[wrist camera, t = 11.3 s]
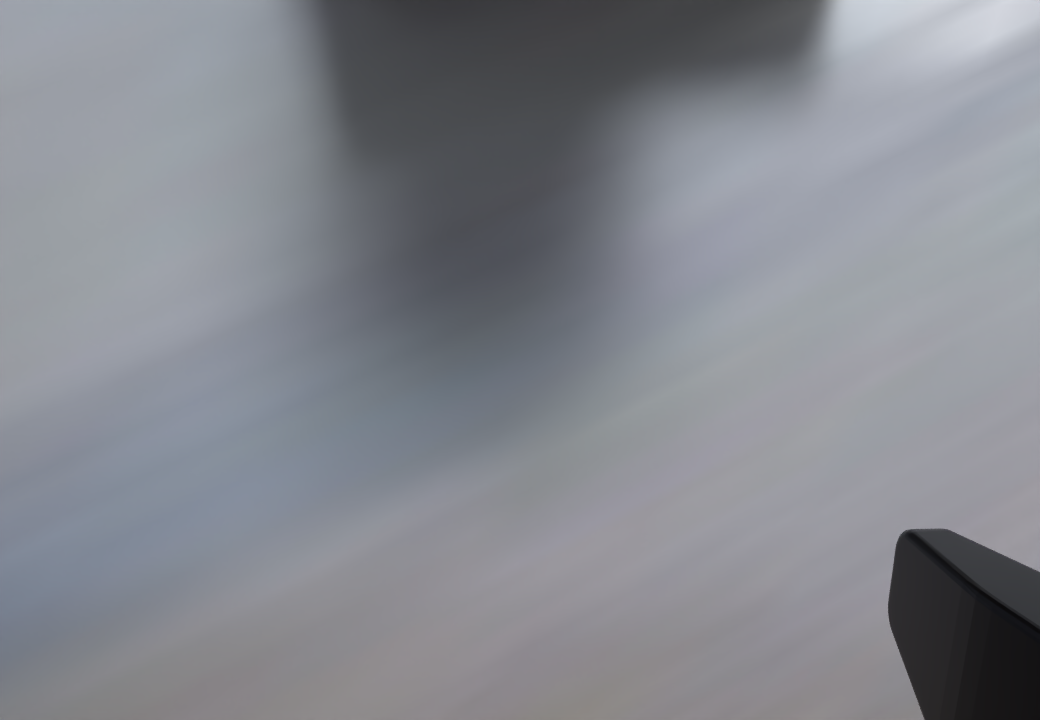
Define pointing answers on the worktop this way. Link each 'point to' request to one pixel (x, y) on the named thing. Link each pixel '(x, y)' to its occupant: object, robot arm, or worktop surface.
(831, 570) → the worktop surface
